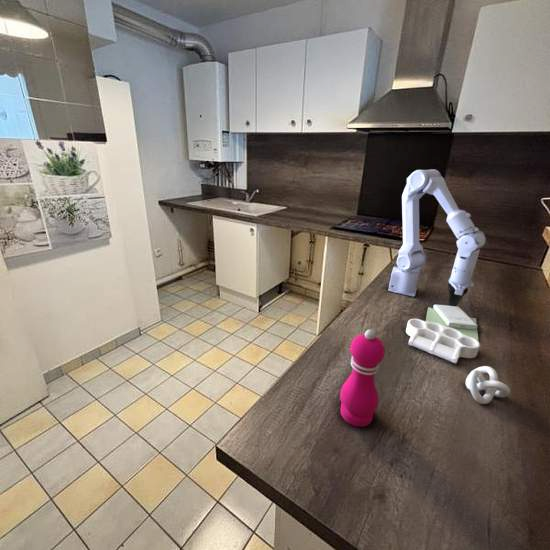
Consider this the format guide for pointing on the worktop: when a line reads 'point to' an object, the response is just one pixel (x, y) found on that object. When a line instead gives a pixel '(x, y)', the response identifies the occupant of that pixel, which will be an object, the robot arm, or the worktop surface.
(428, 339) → the white brass knuckles
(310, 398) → the worktop surface
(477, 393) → the knot
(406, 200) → the robot arm
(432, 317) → the mat
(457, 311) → the hard drive
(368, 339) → the pepper mill
